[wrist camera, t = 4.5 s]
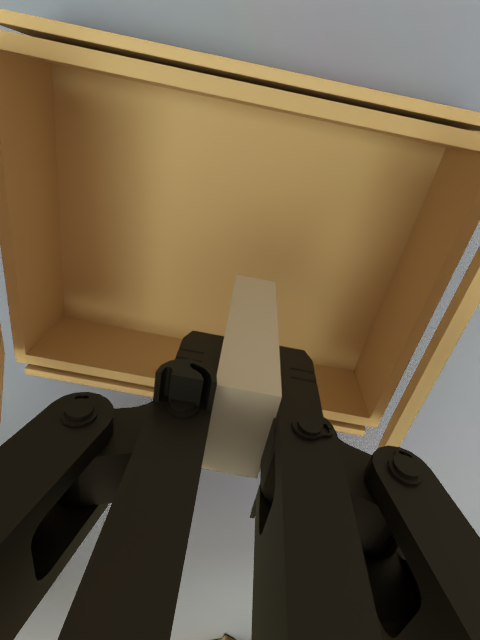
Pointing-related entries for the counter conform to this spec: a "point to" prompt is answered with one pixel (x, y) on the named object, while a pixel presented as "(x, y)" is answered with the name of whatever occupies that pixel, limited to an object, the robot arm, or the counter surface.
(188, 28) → the counter surface
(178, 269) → the tan shallow open box
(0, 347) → the flap
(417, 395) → the flap
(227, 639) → the pancake mix bag
